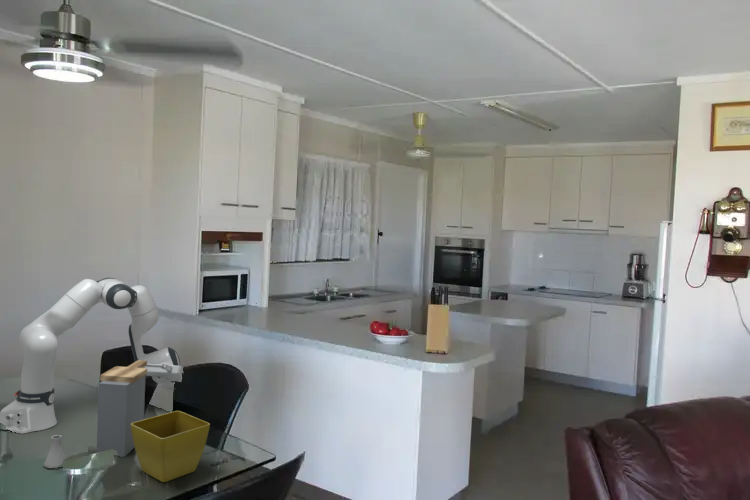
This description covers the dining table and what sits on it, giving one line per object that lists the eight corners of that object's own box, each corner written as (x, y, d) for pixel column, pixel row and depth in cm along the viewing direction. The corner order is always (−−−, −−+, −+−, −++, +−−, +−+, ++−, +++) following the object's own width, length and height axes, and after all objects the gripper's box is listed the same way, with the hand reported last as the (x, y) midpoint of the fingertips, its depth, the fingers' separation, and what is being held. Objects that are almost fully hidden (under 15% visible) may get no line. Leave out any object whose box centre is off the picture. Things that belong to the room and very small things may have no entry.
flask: (57, 471, 199) (58, 442, 199) (38, 468, 201) (39, 439, 200) (72, 462, 206) (73, 434, 206) (54, 459, 208) (54, 431, 207)
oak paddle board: (100, 380, 214) (100, 375, 214) (127, 364, 236) (127, 359, 236) (133, 383, 214) (133, 377, 214) (157, 366, 236) (157, 361, 236)
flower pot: (127, 471, 203) (129, 422, 201) (176, 454, 218) (178, 409, 217) (160, 490, 191) (162, 439, 190) (209, 471, 206) (211, 424, 205)
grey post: (96, 454, 213) (98, 383, 211) (117, 437, 229) (119, 370, 227) (124, 457, 213) (126, 385, 211) (143, 439, 229) (145, 372, 227)
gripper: (140, 364, 260) (128, 356, 248) (187, 367, 260) (178, 359, 247) (137, 379, 257) (125, 371, 245) (184, 382, 257) (175, 374, 244)
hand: (152, 365), depth 246 cm, fingers open, 8 cm apart
